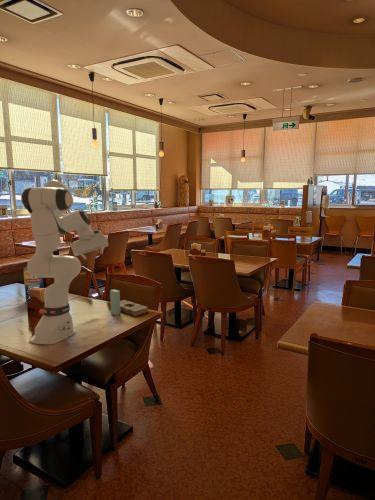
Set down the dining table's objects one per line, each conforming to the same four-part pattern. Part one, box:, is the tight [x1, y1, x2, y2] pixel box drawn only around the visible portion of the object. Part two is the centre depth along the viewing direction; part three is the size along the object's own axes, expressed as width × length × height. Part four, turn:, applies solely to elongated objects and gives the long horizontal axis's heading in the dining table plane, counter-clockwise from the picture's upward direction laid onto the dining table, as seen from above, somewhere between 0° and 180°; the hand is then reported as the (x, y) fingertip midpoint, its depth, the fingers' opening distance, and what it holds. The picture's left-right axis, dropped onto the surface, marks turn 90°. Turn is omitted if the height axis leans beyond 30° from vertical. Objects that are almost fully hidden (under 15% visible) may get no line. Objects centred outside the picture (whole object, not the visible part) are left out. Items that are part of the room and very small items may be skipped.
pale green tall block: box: [109, 289, 121, 316], centre depth 207 cm, size 5×3×14 cm, turn 47°
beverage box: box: [23, 266, 44, 303], centre depth 233 cm, size 7×11×22 cm, turn 113°
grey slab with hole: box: [120, 299, 149, 317], centre depth 215 cm, size 22×10×3 cm, turn 47°
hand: (93, 256), depth 203 cm, fingers open, 8 cm apart
